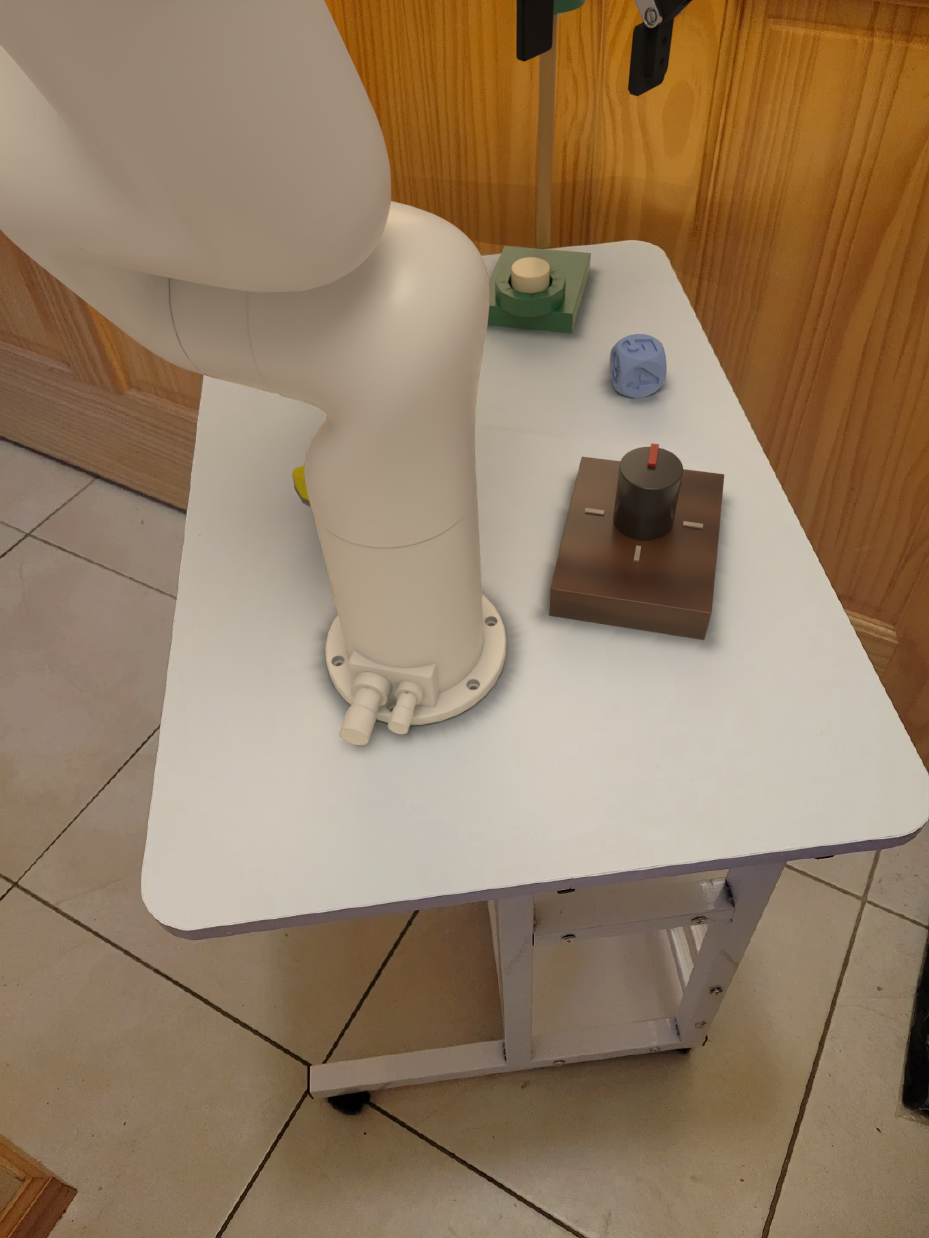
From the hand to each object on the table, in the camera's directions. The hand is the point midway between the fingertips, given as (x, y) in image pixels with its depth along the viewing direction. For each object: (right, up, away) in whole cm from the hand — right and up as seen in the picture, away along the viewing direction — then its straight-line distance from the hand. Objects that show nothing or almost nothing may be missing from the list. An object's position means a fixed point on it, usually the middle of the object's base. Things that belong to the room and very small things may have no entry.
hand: (588, 71), depth 61 cm
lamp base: (-1, -5, +29) cm, 29 cm away
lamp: (-1, 0, +28) cm, 28 cm away
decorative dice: (+7, -17, +19) cm, 26 cm away
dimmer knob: (+5, -30, +5) cm, 31 cm away
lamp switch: (-2, -6, +24) cm, 24 cm away
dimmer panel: (+5, -33, +6) cm, 34 cm away
